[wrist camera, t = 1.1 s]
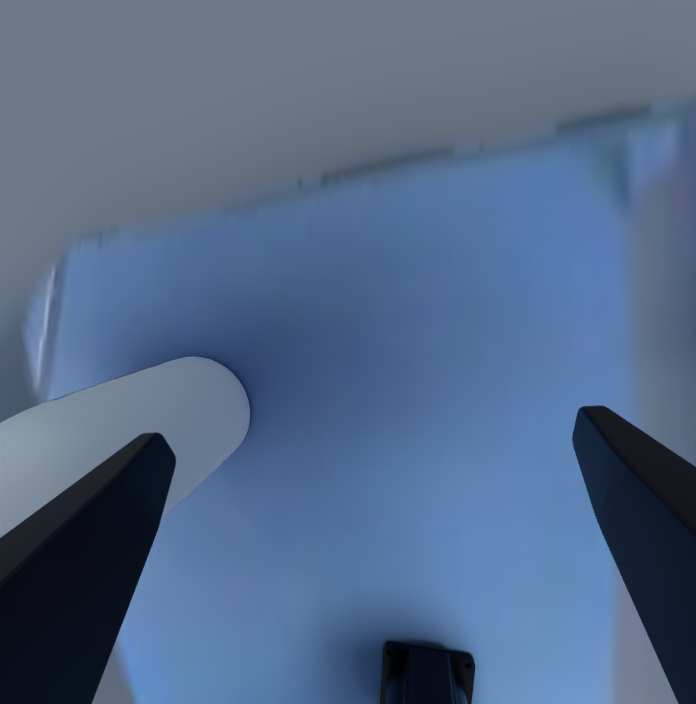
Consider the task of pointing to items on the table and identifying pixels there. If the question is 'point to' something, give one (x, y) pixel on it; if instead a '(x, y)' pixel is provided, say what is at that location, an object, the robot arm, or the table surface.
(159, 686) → the table surface
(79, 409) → the milk bottle
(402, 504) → the table surface
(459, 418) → the table surface
